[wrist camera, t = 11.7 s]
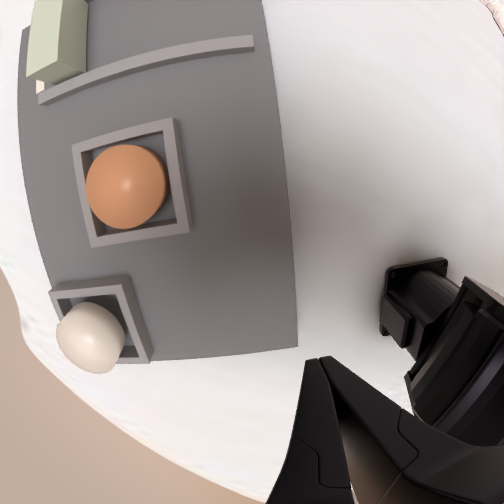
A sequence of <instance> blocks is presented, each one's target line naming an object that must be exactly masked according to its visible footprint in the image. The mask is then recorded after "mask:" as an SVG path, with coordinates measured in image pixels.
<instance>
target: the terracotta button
mask: <svg viewBox="0 0 504 504" xmlns="http://www.w3.org/2000/svg"><path fill="white" fill-rule="evenodd" d="M169 188H170V178H169V172H168V168H167V166H166V164H165V162H164V160H163V159H162V158H161V157H160V155H159V154H157V153H156V152H155V151H154V150H152V149H150V148H148V147H145V146H140V145H117V146H113V147H110V148H108V149H106V150H105V151H103V152H102V153H101V154H100V155H99V156H98V157H97V158H96V159H95V160H94V162H93V163H92V165H91V167H90V169H89V172H88V174H87V179H86V195H87V199H88V202H89V205H90V207H91V209H92V211H93V212H94V214H95V215H96V216H97V217H98V218H99V219H100V220H101V221H102V222H104V223H105V224H107V225H109V226H111V227H114V228H119V229H129V228H133V227H136V226H139V225H140V224H142V223H144V222H145V221H146V220H148V219H149V218H150V217H151V216H153V215H154V214H155V213H156V212H157V211H158V210H159V209H160V208H161V207H162V206H163V204H164V203H165V201H166V199H167V196H168V193H169Z"/></svg>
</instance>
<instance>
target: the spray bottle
mask: <svg viewBox="0 0 504 504" xmlns="http://www.w3.org/2000/svg"><path fill="white" fill-rule="evenodd" d="M480 1H481V2H482V3H483V4H484V5H486V6H487V7H488V8H489V10H490V11H491V12H492V13H493V17H494V19H495V20H496V22H497V24H498V25H499V27H500V29H501V31H502V32H503V34H504V4H501V2H500V1H499V0H480Z"/></svg>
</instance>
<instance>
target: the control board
mask: <svg viewBox="0 0 504 504" xmlns="http://www.w3.org/2000/svg"><path fill="white" fill-rule="evenodd" d="M84 1H85V2H87V3H88V4H89V5H88V17H87V37H86V73H83V74H81V75H79V76H76V77H74V78H71V79H69V80H67V81H65V82H62V83H60V84H58V85H54V84H50V83H46V82H43V81H39V80H35V79H31V78H27V77H26V67H27V53H28V43H29V34H30V27H31V25H30V26H28V27H26V28H25V29H23V30H22V37H21V45H20V54H19V67H18V129H19V143H20V153H21V162H22V169H23V176H24V183H25V188H26V194H27V199H28V204H29V209H30V214H31V218H32V222H33V227H34V231H35V235H36V238H37V242H38V246H39V249H40V253H41V256H42V259H43V263H44V266H45V269H46V272H47V275H48V278H49V281H50V284H51V286H52V289H51V290H50V291H49V292H48V293H49V296H50V298H51V301H52V304H53V306H54V308H55V311H56V313H57V316H58V318H59V320H60V321H61V320H62V319H63V318H64V317H65V316H66V314H67V313H68V312H69V311H70V310H71V309H72V308H73V307H74V306H75V305H76V304H78V303H82V302H91V303H95V304H98V305H100V306H102V307H104V308H105V309H107V310H108V311H109V312H111V313H112V314H113V315H114V316H115V317H116V318H117V320H118V321H119V323H120V324H121V326H122V328H123V331H124V334H125V344H124V347H123V349H122V351H121V353H120V355H119V357H118V359H117V362H116V364H148V363H150V361H163V360H182V359H197V358H209V357H220V356H230V355H240V354H248V353H256V352H264V351H271V350H278V349H285V348H291V347H298V335H297V314H296V295H295V279H294V264H293V250H292V237H291V225H290V213H289V202H288V192H287V181H286V172H285V162H284V153H283V144H282V135H281V127H280V119H279V111H278V103H277V95H276V88H275V81H274V74H273V67H272V60H271V54H270V47H269V41H268V35H267V29H266V23H265V17H264V11H263V6H262V0H84ZM117 145H140V146H145V147H148V148H150V149H152V150H154V151H155V152H156V153H157V154H159V155H160V157H161V158H162V159H163V160H164V162H165V164H166V166H167V168H168V172H169V178H170V188H169V193H168V196H167V199H166V201H165V203H164V204H163V206H162V207H161V208H160V209H159V210H158V211H157V212H156V213H155V214H154V215H153V216H151V217H150V218H149V219H148V220H146V221H145V222H144V223H142V224H140V225H139V226H136V227H133V228H129V229H119V228H114V227H111V226H109V225H107V224H105V223H104V222H102V221H101V220H100V219H99V218H98V217H97V216H96V215H95V214H94V212H93V211H92V209H91V207H90V205H89V202H88V199H87V195H86V179H87V174H88V172H89V169H90V167H91V165H92V163H93V162H94V160H95V159H96V158H97V157H98V156H99V155H100V154H101V153H102V152H103V151H105V150H106V149H108V148H110V147H113V146H117Z"/></svg>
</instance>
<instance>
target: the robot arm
mask: <svg viewBox="0 0 504 504" xmlns="http://www.w3.org/2000/svg"><path fill="white" fill-rule="evenodd" d="M443 262H444V263H443ZM442 263H443V265H442ZM447 267H448V261H447V260H446V259H445V258H437V259H432V260H427V261H422V262H417V263H411V264H406V265H401V266H395V267H391V268H389V269H388V270H387V271H386V277H385V289H384V294H383V296H382V305H381V314H380V322H381V325H380V333H381V334H382V336H388V335H391V336H392V337H393V339H394V340H395V341H396V343H397V344H398V345H399V347H401V348H402V349H403V348H406V349H407V351H408V352H409V353H410V354H411V356H412V357H413V358H414V360H415V361H416V363H415V364H414V365H413V367H412V368H411V370H410V371H408V372H407V373H406V375H405V376H404V379H405V382H406V386H407V390H408V394H409V398H410V402H411V406H412V410H413V413H414V416H413V415H412V414H410V413H409V412H408V411H406V410H405V409H403V408H402V409H401V407H400V406H399V405H397V404H396V403H395V402H393V401H392V400H390V399H389V398H388V397H386V396H385V395H383V394H382V393H381V392H379V391H378V390H377V389H375V388H374V387H372V386H371V385H370V384H368V383H367V382H366V381H364V380H363V379H361V378H360V377H359V376H357V375H356V374H355V373H353V372H352V371H351V370H349V369H348V368H347V367H345V366H344V365H343V364H341V363H340V362H339V361H337V360H336V359H335V358H333V357H332V356H325V357H320V358H319V359H317V358H314V359H309V360H306V361H305V366H304V372H303V378H302V384H301V389H300V395H299V400H298V405H297V410H296V415H295V420H294V425H293V430H292V434H291V438H290V443H289V447H288V451H287V454H286V458H285V461H284V464H283V466H282V469H281V471H280V474H279V476H278V478H277V480H276V483H275V485H274V487H273V489H272V491H271V493H270V495H269V497H268V499H267V502H266V504H355V502H354V499H353V495H352V490H351V484H352V487H353V490H354V492H355V495H356V498H357V500H358V503H359V504H504V298H503V297H502V296H500V295H499V294H497V293H496V292H494V291H493V290H491V289H489V288H487V287H486V286H484V285H482V284H480V283H478V282H476V281H474V280H472V279H471V278H469V277H467V276H465V277H464V279H463V281H462V283H463V284H462V286H461V288H460V287H459V286H458V285H456V284H455V283H454V282H452V281H451V280H450V279H448V278H447V277H446V274H447ZM392 272H394V273H393V275H392V276H391V273H392ZM386 329H387V330H386ZM385 330H386V331H385ZM350 481H351V483H350Z"/></svg>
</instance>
